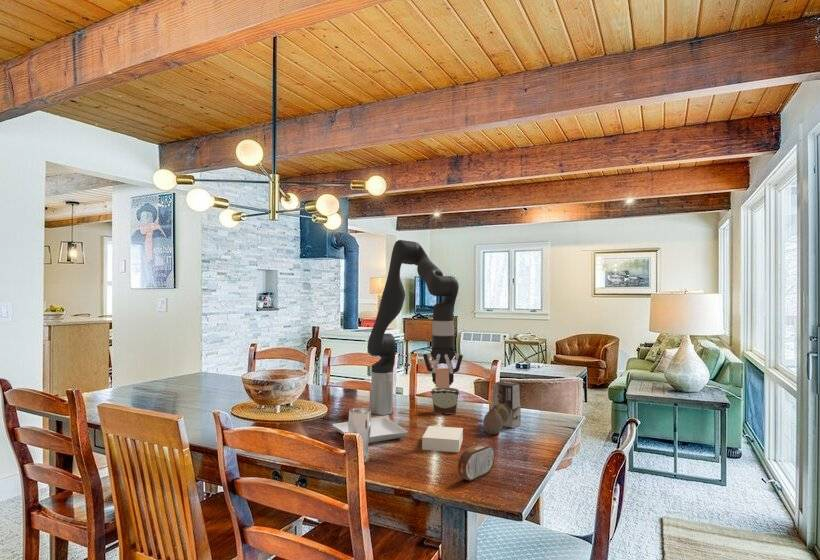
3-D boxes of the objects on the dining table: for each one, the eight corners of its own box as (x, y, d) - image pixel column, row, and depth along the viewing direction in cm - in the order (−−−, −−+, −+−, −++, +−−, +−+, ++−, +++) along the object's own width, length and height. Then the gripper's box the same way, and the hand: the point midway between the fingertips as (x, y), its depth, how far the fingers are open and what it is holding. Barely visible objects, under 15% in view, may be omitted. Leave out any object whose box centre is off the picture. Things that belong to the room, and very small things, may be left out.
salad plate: (351, 449, 161) (352, 438, 161) (331, 432, 180) (331, 422, 180) (409, 441, 171) (409, 431, 171) (383, 425, 189) (384, 416, 189)
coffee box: (521, 425, 191) (521, 383, 192) (512, 428, 187) (512, 385, 187) (501, 420, 198) (501, 380, 198) (492, 423, 193) (492, 382, 193)
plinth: (422, 449, 160) (422, 437, 160) (428, 437, 174) (428, 425, 174) (458, 452, 158) (459, 440, 158) (462, 439, 172) (462, 428, 172)
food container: (459, 410, 213) (459, 387, 214) (459, 414, 207) (459, 390, 208) (431, 409, 215) (431, 386, 215) (430, 413, 209) (430, 389, 209)
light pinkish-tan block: (435, 387, 166) (435, 369, 167) (437, 385, 171) (437, 367, 171) (448, 387, 166) (448, 369, 166) (450, 385, 170) (450, 368, 170)
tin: (487, 468, 144) (487, 439, 145) (496, 470, 142) (496, 441, 142) (456, 482, 133) (456, 451, 134) (465, 485, 131) (466, 453, 131)
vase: (503, 431, 183) (503, 407, 183) (500, 436, 176) (501, 412, 176) (485, 429, 185) (485, 406, 185) (481, 434, 178) (481, 410, 178)
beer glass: (348, 456, 153) (348, 407, 153) (370, 455, 154) (371, 407, 154) (347, 464, 146) (348, 413, 146) (370, 463, 147) (371, 413, 147)
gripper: (420, 334, 166) (420, 385, 166) (463, 335, 164) (463, 386, 163) (424, 332, 174) (424, 381, 173) (464, 333, 171) (464, 383, 171)
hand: (443, 383), depth 168 cm, fingers closed on light pinkish-tan block, 4 cm apart
